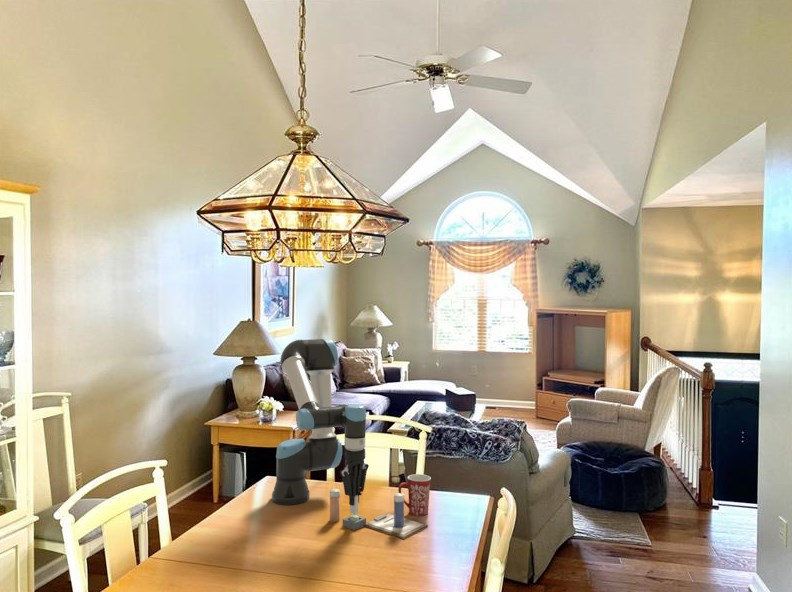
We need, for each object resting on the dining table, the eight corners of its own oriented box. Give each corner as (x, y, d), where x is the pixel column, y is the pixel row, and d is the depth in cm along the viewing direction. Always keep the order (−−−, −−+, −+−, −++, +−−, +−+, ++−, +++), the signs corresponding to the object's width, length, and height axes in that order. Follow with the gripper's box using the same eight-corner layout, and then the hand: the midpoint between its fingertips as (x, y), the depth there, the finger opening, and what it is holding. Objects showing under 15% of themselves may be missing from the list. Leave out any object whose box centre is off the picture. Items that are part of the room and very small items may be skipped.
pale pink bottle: (327, 520, 217) (327, 490, 217) (334, 517, 220) (334, 488, 220) (334, 523, 215) (334, 492, 215) (341, 520, 218) (341, 490, 218)
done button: (348, 523, 212) (348, 517, 212) (354, 521, 215) (354, 514, 215) (354, 525, 210) (354, 519, 210) (360, 523, 213) (360, 516, 213)
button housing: (342, 526, 212) (342, 519, 212) (353, 521, 217) (354, 514, 217) (354, 530, 208) (354, 523, 208) (366, 525, 213) (366, 518, 213)
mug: (426, 507, 231) (427, 473, 231) (433, 515, 223) (433, 480, 223) (395, 509, 229) (395, 475, 229) (401, 518, 220) (401, 482, 220)
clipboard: (364, 526, 212) (364, 521, 212) (388, 515, 223) (389, 511, 223) (403, 539, 201) (403, 534, 201) (427, 526, 212) (427, 522, 212)
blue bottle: (391, 526, 210) (391, 495, 210) (398, 522, 212) (398, 492, 212) (399, 528, 207) (400, 497, 207) (406, 525, 210) (406, 494, 210)
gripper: (350, 453, 205) (349, 521, 205) (374, 446, 215) (373, 510, 216) (334, 450, 210) (333, 515, 210) (359, 442, 220) (358, 505, 220)
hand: (354, 513), depth 213 cm, fingers closed
